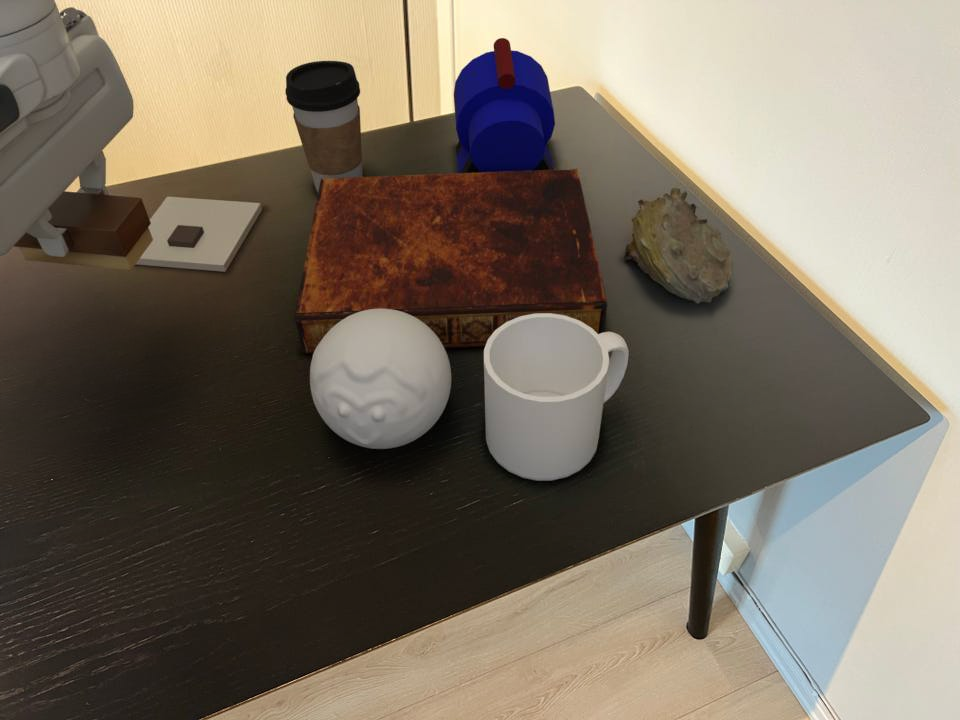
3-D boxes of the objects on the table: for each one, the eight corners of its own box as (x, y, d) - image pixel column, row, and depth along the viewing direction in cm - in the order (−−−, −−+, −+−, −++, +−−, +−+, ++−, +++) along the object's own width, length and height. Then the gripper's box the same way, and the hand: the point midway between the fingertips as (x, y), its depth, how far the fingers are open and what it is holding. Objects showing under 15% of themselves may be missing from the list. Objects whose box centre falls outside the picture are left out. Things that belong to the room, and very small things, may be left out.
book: (303, 355, 78) (293, 318, 75) (327, 213, 95) (321, 177, 92) (602, 343, 79) (607, 305, 75) (574, 204, 96) (577, 168, 92)
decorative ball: (304, 468, 69) (276, 373, 60) (344, 369, 77) (324, 273, 68) (439, 485, 67) (430, 390, 59) (465, 383, 75) (460, 286, 67)
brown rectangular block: (22, 261, 63) (-1, 220, 60) (51, 229, 66) (31, 188, 63) (132, 272, 62) (114, 231, 59) (157, 238, 65) (141, 197, 62)
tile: (124, 263, 89) (121, 256, 89) (169, 203, 98) (167, 196, 97) (225, 272, 88) (223, 265, 87) (262, 209, 96) (260, 202, 96)
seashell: (656, 334, 81) (679, 263, 73) (597, 242, 90) (611, 169, 82) (749, 310, 84) (781, 239, 76) (683, 223, 92) (705, 150, 85)
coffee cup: (355, 210, 96) (337, 93, 85) (293, 199, 98) (267, 83, 87) (384, 174, 101) (369, 60, 90) (324, 163, 103) (303, 51, 93)
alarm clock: (546, 139, 106) (551, 27, 96) (558, 190, 98) (565, 74, 87) (455, 143, 106) (450, 32, 95) (459, 196, 97) (454, 79, 87)
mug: (513, 498, 66) (514, 418, 59) (468, 414, 73) (464, 333, 65) (644, 450, 69) (661, 368, 62) (590, 374, 76) (599, 292, 69)
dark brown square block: (168, 246, 90) (166, 240, 89) (179, 230, 92) (177, 224, 91) (193, 248, 90) (191, 242, 89) (204, 232, 92) (202, 226, 91)
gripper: (43, -5, 60) (106, 155, 70) (-147, 132, 46) (-34, 309, 56) (120, -1, 59) (173, 161, 69) (-49, 140, 45) (48, 318, 55)
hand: (80, 228), depth 63 cm, fingers closed on brown rectangular block, 4 cm apart
